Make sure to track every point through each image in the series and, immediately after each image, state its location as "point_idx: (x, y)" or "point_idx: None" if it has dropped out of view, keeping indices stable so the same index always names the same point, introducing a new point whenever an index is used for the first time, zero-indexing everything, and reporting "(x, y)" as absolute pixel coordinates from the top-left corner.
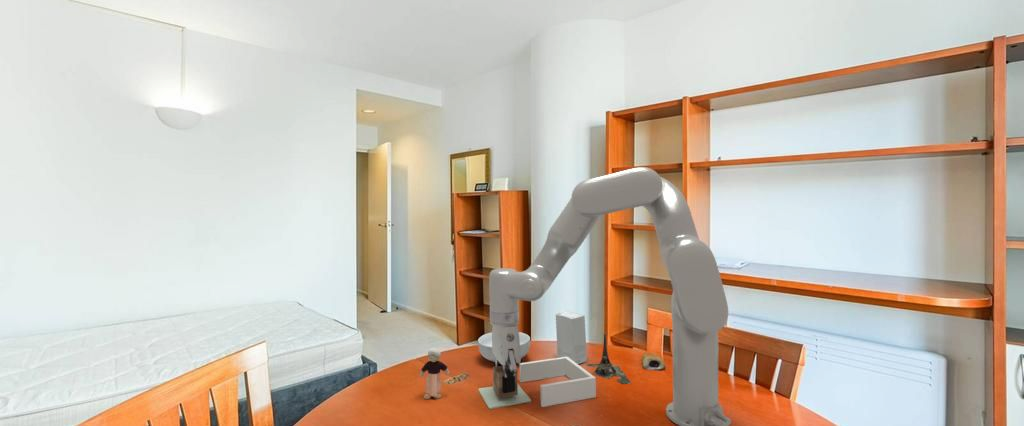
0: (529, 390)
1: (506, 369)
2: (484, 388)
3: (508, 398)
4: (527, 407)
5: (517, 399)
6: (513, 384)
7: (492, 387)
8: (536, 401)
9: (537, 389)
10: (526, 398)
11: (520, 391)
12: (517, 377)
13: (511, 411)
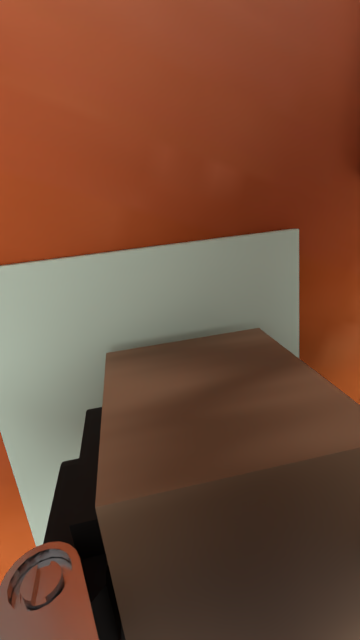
0: (108, 187)
1: (286, 570)
2: (40, 515)
3: None
4: (350, 274)
5: (260, 323)
6: None
7: (32, 467)
8: (299, 187)
9: (101, 104)
10: (265, 257)
11: (142, 276)
12: (341, 392)
13: (356, 374)
